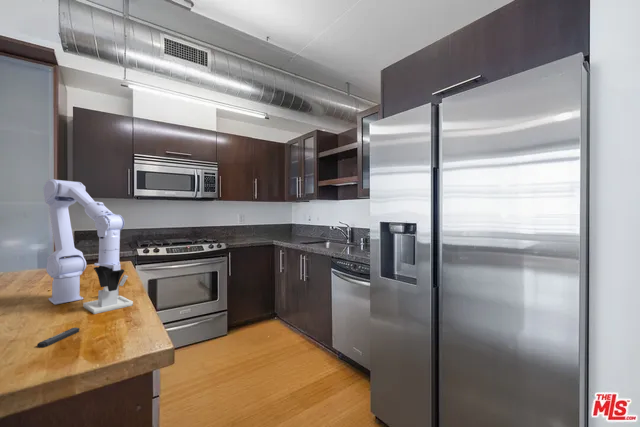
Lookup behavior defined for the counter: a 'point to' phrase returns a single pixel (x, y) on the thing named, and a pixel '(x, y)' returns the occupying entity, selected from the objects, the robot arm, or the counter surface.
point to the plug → (107, 297)
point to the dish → (95, 308)
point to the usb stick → (58, 337)
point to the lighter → (121, 282)
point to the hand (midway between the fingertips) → (108, 288)
